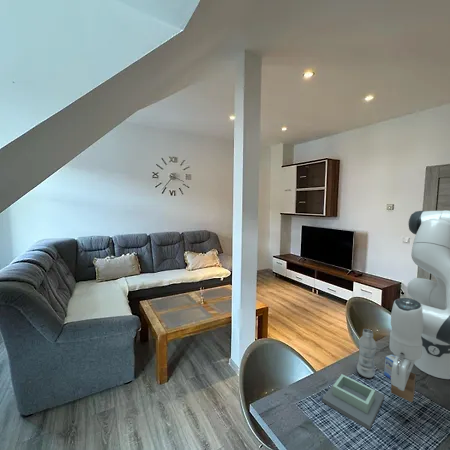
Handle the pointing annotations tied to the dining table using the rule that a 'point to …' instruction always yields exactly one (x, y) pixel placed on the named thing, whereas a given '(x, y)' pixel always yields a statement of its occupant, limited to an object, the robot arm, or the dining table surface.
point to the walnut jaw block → (406, 389)
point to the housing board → (354, 400)
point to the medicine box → (388, 365)
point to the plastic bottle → (366, 354)
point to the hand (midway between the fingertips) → (403, 384)
